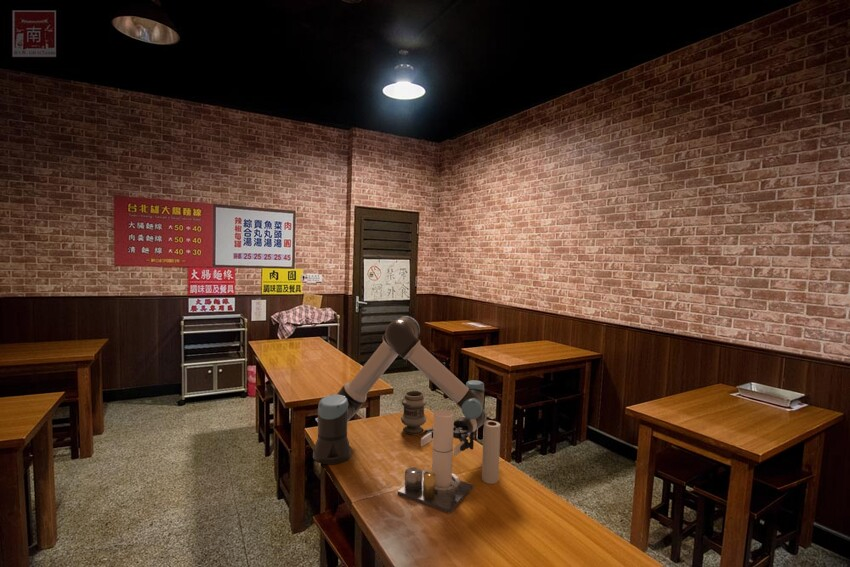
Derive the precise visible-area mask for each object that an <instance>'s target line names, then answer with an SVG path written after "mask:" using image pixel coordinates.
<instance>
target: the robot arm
mask: <svg viewBox="0 0 850 567" xmlns="http://www.w3.org/2000/svg"><path fill="white" fill-rule="evenodd" d="M420 333H421V328H420V324H419V323H418V321H417V320H416V319H415V318H414V317H412V316H407V315H405V316H399V317H398V318H396V319H395V320H393V321H391V322H390V323H389V324H388V325H387V327H386V329H385V332H384V334H383V335H382V343H380V345H379V346H378V347H377V348H376V350H375V351H374V352H373V353H372V355H371V356H370V358H369V359H368V360H367V361H366V362H365V363H364V365H363V366H362V367H361V369H360V370H359V371H358V372H357V374H356V375H355V376H354V377H353V379H352V380H351V381H349V382H345V383H344V385H343V386H342V387H341V388H340V390H339V391H338V392H337V393H336V394H330V395H326V396H324V397H322V398H321V399H320V400H319V402H318V405H317V406H318V408H317V438H316V441H315V445H314V449H313V450H312V458H313V460H314V461H315V462H316V463H317V464H322V465H336V464H341V463H345V462H346V461H347V460H349V459H350V458H351V456H352V447H351V445H350V441H349V438H348V422H349V421H350V420H351V419H352V418H353V416H354V415H356V414H357V413H358V412H359V411H360V409H361V408H362V406H363V405H364V403H365V402H366V401H367V394H368V393H369V392H370V390H372V388H373V387H374V385H375V384H376V383H377V382H378V381H379V379H380V378H381V377H382V376H383V375H384V373H385V372H386V371H387V369H388V368H389V367H390V366H391V364H392V363H393V362H394V361H395V360H396V358H398V356H400V357H401V359H403V360H408V361H409V362H410V363H411V364H412V365H413V366H415V368H417V369H418V370H419V371H420V372H421V373H422V374H423V375H424V376H425V377H427V378H428V379H429V380H430V382H432V384H434V385H435V386H436V387H437V388H438V389H440V390H441V391H442V393H444V394H445V395H446V396H447V397H448V398H449V399H451V401H452V402H453V403H454V404H455V405H457V406H458V407H459V408H460V409H461V413H462V414H463V415H461V416H460V417H459V418H457V419H456V420H454V430H453V439H458V440H459V443H457V445H455V446H453V456H455V457H456V456H459V454H460V453H462V452H464V451H465V450H468V449H470V450H474V445H475V444H474V440H476V439H475V436H476V435H475V434H476V432H475V431H477V430H478V429H479V428H480V427H482V426H484V419H486V420H487V413H486V411H485V409H484V405H485V404H484V402H485V383H484V382H483V381H481V380H476V379H475V380H474V379H472V380H468V381H466V383H465V384H464V383H463V382H462V381H461V380H460V379H459V378H458V377H456V376H457V375H455V374H453V373H452V372H451V371H450V370H449V369H448V368H447V367H446V366H444V364H442V363H441V362H440V361H439V359H437V358H436V357H435V356H434V355H433V354H432V353H430V352H429V351H428V350H427V349H426V348H425V347H424V346H423V345H422V344H421V340H420V339H419V336H420ZM468 438H469V439H468ZM431 441H433V427H430V428H426V429H424V434H423V436H422V437H421V438H420V447H425V445H427V444H429V443H430V442H431Z"/></svg>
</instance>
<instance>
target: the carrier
mask: <svg viewBox="0 0 850 567" xmlns="http://www.w3.org/2000/svg"><path fill="white" fill-rule="evenodd" d="M435 476H436V474H435V473H434V472H432V470H428V469H423V470H422V469H421V468H419V467H415V466H414V467H412V466H411V467H407V468H406V469H405V471H404V485H403V486H402V487H400V489H398V490H397V496H401V497H403V498H406V499H409V500H412V501H414V502H417V503H420V504H422V505H426V506H428V507H430V508H433V509H436V510H439V511H441V512H443V513H448V514H451V513H452V512H453V511H454V510H455V509H456V508H457V506H459V504H460V503H461V502H462V501H463V500H464V499H465V497H467V495H468V494H469V493H470V492H471V491H472V490H473V489H474V484H472V483H470V482H469V483H468V482H466V481H463V480H460V477H459V476H458V475H457V474H455V473H453V472H452V484H451V485H450V486H449V487H446V488H439V487H436V486H435Z"/></svg>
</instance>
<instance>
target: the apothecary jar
mask: <svg viewBox="0 0 850 567" xmlns="http://www.w3.org/2000/svg"><path fill="white" fill-rule="evenodd" d="M401 405H402V406H403V413H402V415H401V417H400V420H401V423H402V424H403V425H404V426H405V427H403V429H402V432H403V433H405V434H407V435H412V436H413V435H415V436H416V435H421V434H423V433H424V432H425V429H424V428H423V427H422V426H423V425H424V424H425V423H427V416H426V415H425V406H426V405H427V399H426V398H425V396H424V393H423V392H422V391H420V390H408V391H406V392H405V393H404V397H403V398H402V399H401ZM423 431H424V432H423Z"/></svg>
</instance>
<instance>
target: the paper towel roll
mask: <svg viewBox="0 0 850 567" xmlns="http://www.w3.org/2000/svg"><path fill="white" fill-rule="evenodd" d="M482 431H483V435H482V436H483V437H482V439H483V440H482V458H481V459H482V463H481V467H482V468H481V469H482V470H481V480H482V482H484V483H486V484H488V485H490V484H492V485H495V484H497V483H498V482H499V476H500V475H499V474H500V472H499V471H500V451H501V450H500V449H501V448H500V446H501V445H500V444H501V423H500V422H499V421H496V420H490V419H487V418H486V419H484V424H483V430H482Z"/></svg>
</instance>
